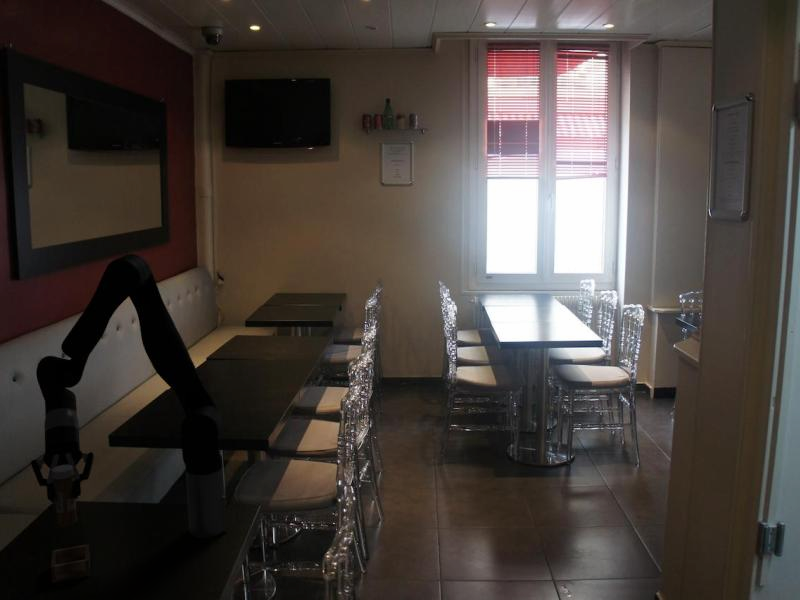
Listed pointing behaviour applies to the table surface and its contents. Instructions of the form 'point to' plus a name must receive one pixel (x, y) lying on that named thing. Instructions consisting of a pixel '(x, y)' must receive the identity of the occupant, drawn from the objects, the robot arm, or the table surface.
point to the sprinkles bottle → (64, 494)
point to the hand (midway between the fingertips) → (64, 499)
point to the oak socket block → (70, 563)
